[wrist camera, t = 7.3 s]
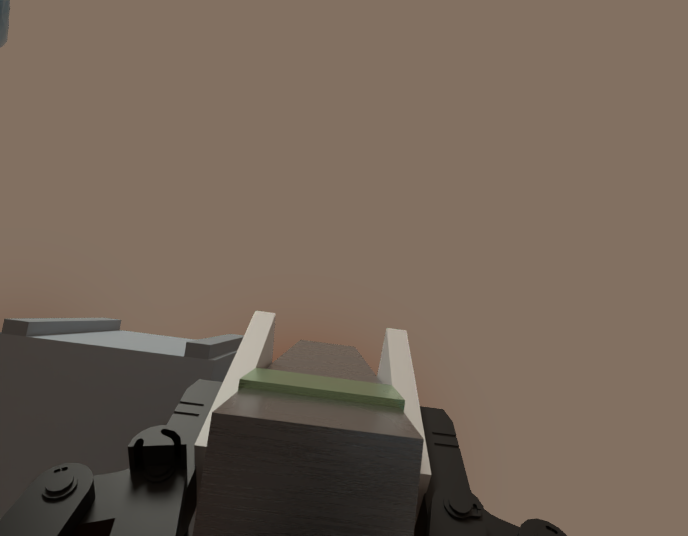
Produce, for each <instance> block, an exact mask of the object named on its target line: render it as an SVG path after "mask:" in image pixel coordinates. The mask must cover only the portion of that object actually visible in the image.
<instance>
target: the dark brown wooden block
mask: <svg viewBox="0 0 688 536" xmlns="http://www.w3.org/2000/svg"><path fill="white" fill-rule="evenodd" d="M404 406H405V399H404V398H403V397H402V396H401V395H400V394H399V393H398V391H397V390H396V389H395V388H394V387H393V386H392V385H387V384H382V383H381V381H380V380H379V379H378V377H377V376H376V375H375V373H374V372H373V371H372V369H371V368H370V367H369V365H368V364H367V363H366V361H365V360H364V359H363V358H362V356H361V355H360V353H359V352H358V351H357V349H356V348H355V347H351V346H344V345H336V344H328V343H321V342H313V341H305V340H300V341H299V342H297V343H296V344H295V345H294V346H293V347H291V348H290V349H289V350H288V351H287V352H285V353H284V354H283V355H282V356H280V357H279V358H278V359H277V360H275V361H274V362H273V363H272V364H271V365H269V366H268V367H267V368H266V369H263V368H255V369H253V370H252V371H250V372H249V373H247V374H246V375H245V376H243V377H242V378H240V379H239V386H238V391H237V392H236V393H235V394H234V395H233V396H231V397H230V398H229V399H228V400H226V401H225V402H224V403H223V404H222V405H220V406H219V407H218V408H217V409H215V410H214V411H213V412H212V416H211V422H210V428H209V435H208V441H207V447H206V453H205V460H204V466H203V472H202V479H201V485H200V491H199V497H198V504H197V510H196V516H195V523H194V529H193V535H192V536H414V527H415V518H416V508H417V499H418V490H419V480H420V471H421V461H422V452H423V442H424V439H423V437H422V436H421V435H420V433H419V432H418V431H417V429H416V428H415V427H414V425H413V424H412V423H411V421H410V420H409V419H408V417H407V416H406V415H405V413H404Z"/></svg>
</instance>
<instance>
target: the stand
mask: <svg viewBox="0 0 688 536" xmlns="http://www.w3.org/2000/svg"><path fill="white" fill-rule="evenodd" d="M120 324H121V320H117V319H109V318H40V319H39V318H36V319H34V318H33V319H4V324H3V328H2V332H0V519H1V518H2V517H3V516H4V514H5V513H6V512H7V511H8V510H9V509H10V507H11V506H12V505H13V504H14V503H15V502H16V500H17V499H18V498H19V497H20V496H21V494H22V493H23V492H24V491H25V490H26V489H27V487H28V486H29V485H30V484H31V483H32V482H33V481H34V480H35V479H36V478H37V477H38V476H39V475H40V474H42V473H43V472H45V471H47V470H49V469H50V468H52V467H54V466H58V465H61V464H65V463H80V464H83V465H86V466H88V468H89V469H90V470H91V471H92V473H93V476H94V475H101V474H107V473H114V472H119V471H123V470H126V469H129V468H130V466H129V456H128V445H129V443H130V442H131V440H132V439H133V438H134V437H135V436H136V435H137V434H139V433H140V432H141V431H143V430H146V429H148V428H150V427H154V426H160V425H167V423H168V422H169V420H170V418H171V416H172V414H174V411H175V409H176V407H177V406H178V404H179V403H180V400H181V398H182V397H183V395H184V393H185V391H186V390H187V388H189V387H190V386H191V385H192V384H194V383H195V382H196V381H198V380H199V379H202V380H210V381H218V382H223V381H224V379H225V377H226V375H227V372H228V370H229V368H230V366H231V364H232V361H233V359H234V357H235V355H236V353H237V350H238V348H239V346H240V344H241V342H242V339H243V337H244V336H242V335H234V334H228V335H222V336H217V337H211V338H205V339H200V340H193V339H185V338H177V337H169V336H161V335H154V334H145V333H137V332H130V331H122V330H119V329H120ZM194 523H195V512H194V514H193V517H192V519H191V522H190V525H189V536H192V535H193V529H194Z"/></svg>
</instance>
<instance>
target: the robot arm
mask: <svg viewBox="0 0 688 536" xmlns="http://www.w3.org/2000/svg"><path fill="white" fill-rule="evenodd" d="M9 3H10V0H0V47H2V46H3V45H4V44H5V43H6V42H7V34H8V26H9V10H10V7H9ZM274 328H275V313H269V312H261V311H255V313H254V315H253V318H252V320H251V322H250V324H249V326H248V329H247V331H246V333H245V335H244V337H243V339H242V342H241V344H240V346H239V348H238V350H237V353H236V355H235V357H234V359H233V361H232V364H231V366H230V368H229V370H228V372H227V375H226V377H225V379H224V381H223V382H218V381H210V380H202V379H199V380H198V381H196V382H195V383H194V384H192V385H191V386H190V387H189V388H187V390H186V391H185V393H184V395H183V397H182V398H181V400H180V403H179V404H178V406H177V407H176V409H175V411H174V414H172V416H171V418H170V420H169V422H168V423H167V425H160V426H154V427H150V428H148V429H146V430H143V431H141V432H140V433H139V434H137V435H136V436H135V437H134V438H133V439H132V440H131V442H130V443H129V445H128V456H129V466H130V468H129V469H126V470H123V471H119V472H114V473H107V474H101V475H94V476H93V473H92V471H91V470H90V469H89V468H88V466H86V465H83V464H80V463H65V464H61V465H58V466H54V467H52V468H50V469H49V470H47V471H45V472H43V473H42V474H40V475H39V476H38V477H37V478H36V479H35V480H34V481H33V482H32V483H31V484H30V485H29V486H28V487H27V489H26V490H25V491H24V492H23V493H22V494H21V496H20V497H19V498H18V499H17V500H16V502H15V503H14V504H13V505H12V506H11V507H10V509H9V510H8V511H7V512H6V513H5V514H4V516H3V517H2V518H1V519H0V536H189V525H190V522H191V519H192V517H193V514H194V512H195V516H196V510H197V504H198V497H199V491H200V485H201V479H202V472H203V466H204V460H205V453H206V447H207V441H208V435H209V428H210V422H211V416H212V412H213V411H214V410H215V409H217V408H218V407H219V406H220V405H222V404H223V403H224V402H225V401H226V400H228V399H229V398H230V397H231V396H233V395H234V394H235V393H236V392H237V391H238V386H239V379H240V378H242V377H243V376H245V375H246V374H247V373H249V372H250V371H252V370H253V369H255V368H263V369H266V368H267V367H268V366H269V365H271V364H272V354H273V341H274ZM377 377H378V379H379V380H380V381H381V383H382V384H387V385H392V386H393V387H394V388H395V389H396V390H397V391H398V393H399V394H400V395H401V396H402V397H403V398H404V399H405V406H404V413H405V415H406V416H407V417H408V419H409V420H410V421H411V423H412V424H413V425H414V427H415V428H416V429H417V431H418V432H419V433H420V435H421V436H422V437H423V439H424V442H423V452H422V461H421V471H420V480H419V490H418V499H417V508H416V518H415V527H414V536H567V535H566V534H565V533H563V531H561V530H560V529H559V528H558V527H556V526H555V525H553V524H551V523H549V522H547V521H544V520H540V519H530V520H527V521H525V522H524V523H523V524H522V525H521V527H518V526H515V525H513V524H510V523H508V522H506V521H503V520H501V519H499V518H497V517H495V516H493V515H491V514H490V513H488V512H487V511H486V510H484V508H483V505H482V504H481V502H480V501H479V500H478V498H477V497H476V496H475V495H474V494H472V493H471V490H470V487H469V483H468V479H467V475H466V471H465V468H464V464H463V460H462V456H461V452H460V449H459V445H458V441H457V438H456V433H455V429H454V425H453V422H452V420H451V419H450V418H449V416H448V415H447V414H446V413H445V411H444V410H443V409H436V408H429V407H420V406H419V400H418V395H417V389H416V383H415V377H414V372H413V366H412V360H411V355H410V348H409V343H408V337H407V331H406V330H399V329H391V328H387V329H386V334H385V339H384V344H383V349H382V354H381V359H380V365H379V369H378V375H377Z"/></svg>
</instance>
